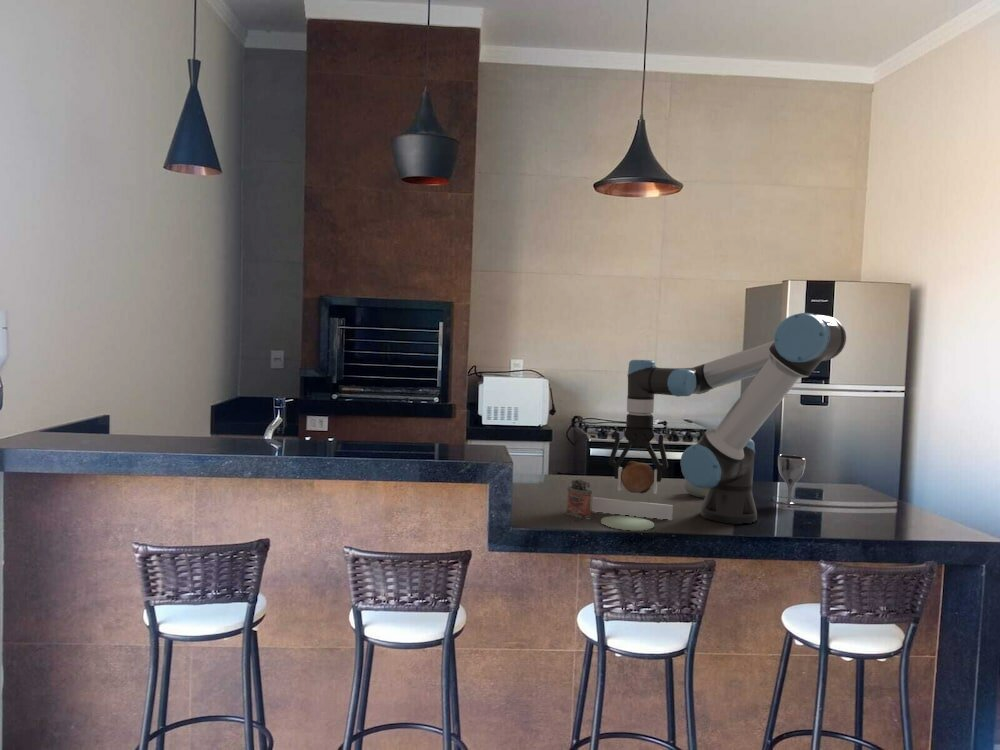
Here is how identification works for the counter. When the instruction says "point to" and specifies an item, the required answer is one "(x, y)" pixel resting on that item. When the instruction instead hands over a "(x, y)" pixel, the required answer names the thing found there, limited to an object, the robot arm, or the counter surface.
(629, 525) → the pad
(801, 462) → the wine glass
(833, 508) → the counter surface
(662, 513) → the low wall
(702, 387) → the robot arm
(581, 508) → the lighter
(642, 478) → the onion
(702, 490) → the air freshener
